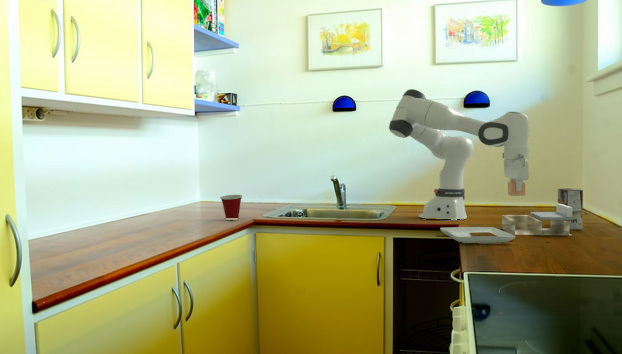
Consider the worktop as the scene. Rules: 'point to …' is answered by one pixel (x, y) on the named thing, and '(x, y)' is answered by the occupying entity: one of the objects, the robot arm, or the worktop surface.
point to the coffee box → (573, 205)
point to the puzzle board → (533, 226)
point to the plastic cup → (231, 205)
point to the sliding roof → (555, 213)
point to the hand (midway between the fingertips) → (516, 190)
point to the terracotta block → (513, 192)
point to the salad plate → (465, 237)
